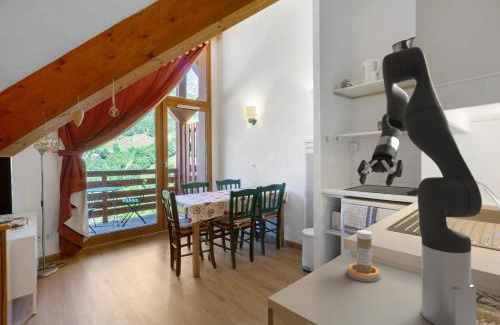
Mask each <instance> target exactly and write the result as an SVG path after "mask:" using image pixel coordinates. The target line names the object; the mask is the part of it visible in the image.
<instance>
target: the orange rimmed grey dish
mask: <svg viewBox="0 0 500 325" xmlns="http://www.w3.org/2000/svg"><path fill="white" fill-rule="evenodd" d="M346 273H347V275H349V276H348V277H349V278H351V279H353V280H355V281H358V282H364V283H376V282H379V281H381V279H382V275H381V273H380V269H379V268H378V267H376V266H375V265H373V264H372V273H371V274H364V273H359V272H357V262H356V263H355V262H354V263H349V266H348V268H347V271H346Z"/></svg>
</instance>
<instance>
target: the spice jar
mask: <svg viewBox="0 0 500 325" xmlns="http://www.w3.org/2000/svg"><path fill="white" fill-rule="evenodd" d="M356 239H357V240H356V242H357V243H356V247H357V248H356V249H357V250H356V263H357V272H359V273H364V274H371V273H372V265H373V256H372V255H373V249H372V248H373V247H372V246H373V245H372V240H373V232H372V231H370V230H365V229H359V230H357V231H356Z"/></svg>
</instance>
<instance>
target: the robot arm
mask: <svg viewBox="0 0 500 325" xmlns="http://www.w3.org/2000/svg"><path fill="white" fill-rule="evenodd" d="M381 70H382V71H381V72H382V78H383V85H384V91H385V95H386V113H384V115H383V116H382V118H381V129H382V130H381V134H380V137H379V140H378V141H377V143H376V145H375V148H374V150H373V152H372V153H373V154H372V156H371V159H370V160H369V161H366V160H365V159H362V160H361V162H360V164H359V166H358V168H357V170H356V171H357V174H358V176H360V177H359V178H358V180H359V183H360V185H361V186H362V185H365V183H366V180H367V177H369V176H370V175H373V174H374V173H377V174H378V173H381V174H385V173H387V176H386V180H385V185H386V187H391V185H393V182H394V179H395V178H401V177H402V175H403V170H404V163H403V160H402V159H398V160H397V161H396V158H397V154H398V152H399V147H400V143H401V140H402V135H403V134H402V133H403V132H406V134H407V136H408V138H409V139H410V141H411V143H413V144H414V146H416V147H417V148H418V149H419V150H420V151H421V152H423V153H424V154H425V155H426V156H427V157H428V158H430V159H431V161H432V162H433V163H435V164H436V166H437V168H438V169H439V171H440V173H441V175H442V177H441V176H437V177H436V176H434V177H433V176H431V177H425V178H423V179H422V180H421V181H420V183H419V185H418V189H417V210H418V223H419V224H418V226H419V227H418V228H419V232H420V236H421V314H422V316H423V318H425V320H426V321H428V322H429V323H430V324H432V323H433V324H432V325H477V287H476V285H475V284H472V240H471V238H470V236H468V235H467V234H466V233H462V232H460V231H457V230H454V229H451V228H449V227H448V222H447V218H472V217H473V218H474V217H475V216H478V214H479V213H480V212H481V210H482V206H483V198H482V193H481V191H480V188H479V186H478V183H477V181H476V178H474V176H473V173H472V172H471V170H470V168H469V166H468V165H467V163H466V161H465V158H464V157H463V155H462V153H461V151H460V149H459V147H458V144H457V142H456V141H455V140H456V139H455V137H454V135H453V132H452V130H451V127H450V124H449V121H448V118H447V115H446V113H445V110H444V108H443V106H442V104H441V101H440V98H439V96H438V94H437V92H436V90H435V87H434V86H435V85H434V84H433V83H434V82H433V81H432V76H431V74H430V70H429V65H428V62H427V59H426V56H425V52H424V51H423V50H422V48H421V47H419V46H413V47H409V48H405V49H401V50H398V51H397V50H396V51H395V52H391V53H389V54H387V55H385V56H384V57H383V59H382V66H381ZM410 80H414V81H415V83H416V84H415V87H414V89H413V92H412V93H411V94H412V95H411V96H410V97H409V94H408V93H407V92H406V91H405V90H403V89H402V88H401V87H399V86H398V85H397V84H398V83H403V82H407V81H410ZM394 167H395V171H393V168H394Z"/></svg>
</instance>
